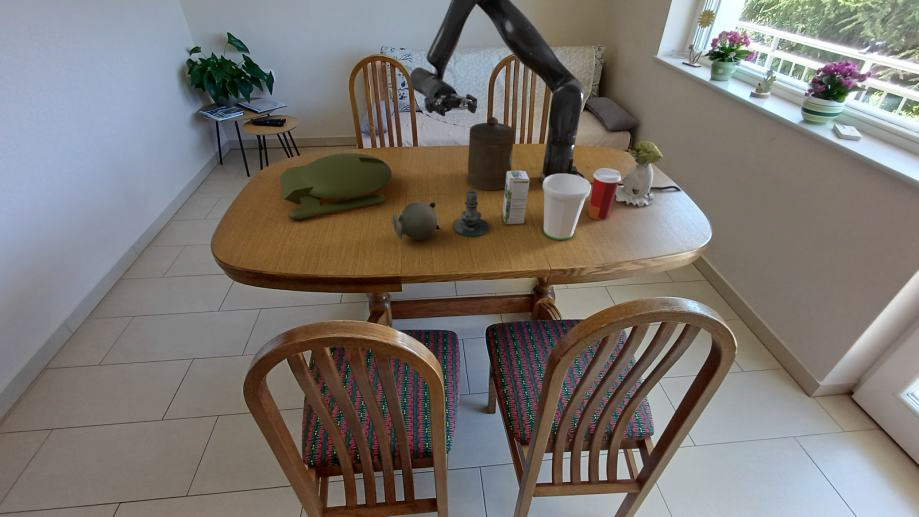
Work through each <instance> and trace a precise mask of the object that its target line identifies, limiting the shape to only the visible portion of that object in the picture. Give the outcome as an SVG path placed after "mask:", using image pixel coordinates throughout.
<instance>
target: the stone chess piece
mask: <svg viewBox="0 0 919 517" xmlns="http://www.w3.org/2000/svg"><path fill="white" fill-rule="evenodd" d="M465 197H466V201H465V202H464V205H465V210H464V211H462V212H461V213H460V217H461V219H462V220H463V223H462V228H463V229H465V230H469V231H473V230H477V229H478V228H479V227H480V224H479V223H478V222H479V220H480V219H482V213H481V212H480V211H478V210H477V208H478V207H477V206H478V205H479V202H478V200H477V199H478V198H477V197H478V193H477V191H475V190H474V189H473V188H471V189H470V190H468V191H467V192H466V196H465Z"/></svg>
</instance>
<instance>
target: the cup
mask: <svg viewBox="0 0 919 517" xmlns="http://www.w3.org/2000/svg"><path fill="white" fill-rule="evenodd" d="M590 183H591V182H590V181H589V180H587V179H586V178H585V179H584V178H582V177H581V176H580V175H577V176H576V175H571V174H554V175H550V176H548V177H546V178H545V179H544V181H543V183H542V190H543V192H544V193H543V197H544V198H543V233H544V235H546V237H548V238H550V239H552V240H556V241H566V240H570V239H572V237H573V236H574V232H575V230H576V227H577V225H578V221H579V218H580V215H581V212H582V209H583V207H584V203H585V201H586V199H587V197H588V196H589V195H590V192H591V190H592V184H590Z"/></svg>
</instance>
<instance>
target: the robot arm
mask: <svg viewBox="0 0 919 517" xmlns="http://www.w3.org/2000/svg"><path fill="white" fill-rule="evenodd" d="M476 6H478V7H479V9H481V11H482V12H484V13H485V14H486V15H487V17H488V18H489V19H490V20H491V22H492V23H493V25H494V27H495V29H496V31H497V32H498V34H499V36H500V38H501V39H502V42H504V44H505V45H506V47H507V48H508V49H509V51H510V52H511V53H512V55H514V57H515V58H516V60H518V62H520V63H521V65H523V66H524V67H526V68H527V69H528V70H530V71H531V72H533V73H534V74H535V75H536V76H538V77H539V78H540V80H542V81H543V82H544V84H545V85H546V87H547V88H548V89H549V91H550V92H551V94H552V95H551V100H550V106H549V114H548V123H547V125H548V127H547V136H546V143H545V150H544V157H543V158H544V159H543V165H542V171H540V176H541V178H540V182H541V183H542V184H543V181H544V179H545V178H546V177H548V176H550V175H554V174H571V175H576V176H579V177H582V178H584V179H586V177H585V174H583V173H582V172H579V171H578V168H577V166H576V165H574V151H575V146H576V141H577V135H578V130H579V122H580V118H581V111H582V106H583V101H584V98H585V88H584V85H583V84H582V82H581V81H580V80H579V79H578V78H577V77H576V76H574V74H573V73H572V72H571V71H570V70H569V69H568V68H567V67H566V66H565V65H564V64H563V63H562V62H561V61H560V60H559V58H558V57H557V55H556V54H555V52H554V50H553V49H552V48H551V46H550V45H549V44H548V42H547V41H546V39H545V38H544V37H543V35H542V34H541V33H540V31H539V30H538V28H536V27H535V25H534V24H533V23H532V22H531V21H530V19H529V18H528V17H527V16H526V15H525V14H524V13H523V12H522V11H521V10H520V9H519V8H518V7H517V5H515V4H514V2H512V1H511V0H450V3H449V5H448V8H447V11H446V13H445V16H444V17H443V20H442V22H441V24H440V26H439V29H438V30H437V32H436V35H435V36H434V39H433V41H432V42H431V45H430V47H429V49H428V51H427V54H426V58H425V59H426V61H427V62H428V64H430V65H431V66H432V67H433V68H434V69H435V71H434V72H432V71H431V70H428V69H426V68H424V67H420V66H418V67H415V68H414V69H412V71H411V72H410V74H409V85H410V87H411V89H413V90H414V91H415V92H417V93H419V94H421V95H423V96H424V100H423V101H424V102H423V103H424V109H425V110H426V111H427V113H429V114H433V113H434V112H435V114H438V115H440V116H441V117H446V113H448V112H450V111H452V110H459V111H464V110H467V111H468V112H469V113H471V114H475V113H476V112H477V109H478V98H476V97H475V96H473V95H472V94H469V93H467V94H465V96H462V95H459V94H458V92H457V91H456V89H455V88H454V87H453V86H451V85H450V84H449V83H447V82H446V81H444V76H445V73H446V69H447V66H448V64H449V62H450V60H451V58H452V57H453V54H454V53H455V50H456V49H457V46H458V44H459V42H460V38H461V35H462V32H463V30H464V27H465V26H466V25H465V24H466V22H467V20H468V18H469V16H470V15H471V13H472V11H473V10H474V8H475V7H476ZM589 183H590V185H593V182H589ZM618 186H624V185H623V184H622V182H619V184H618ZM669 189H674V190H676V191H678V192H681V188H680V187H679V186H676V185H668V186H651V187H650V189H649V190H660V191H661V190H662V191H663V190H669Z"/></svg>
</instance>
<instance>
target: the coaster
mask: <svg viewBox="0 0 919 517" xmlns="http://www.w3.org/2000/svg"><path fill="white" fill-rule="evenodd" d="M462 223H463V220H462V218H460V219H458V220H456V221H455V222H454V225H453V228H454V231H455V232H456V233H457V234H459V235H461V236H464V237H470V238H471V237H472V238H473V237H474V238H475V237H480V236H483V235H485V234H486V233H487V232H488V231H489V224H488V222H487V221H485V220H484V219H482V218H480V220H479V222H478V223H479V224H480V227H479V228H478V229H477V230H473V231H469V230H465V229H463V228H462Z"/></svg>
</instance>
